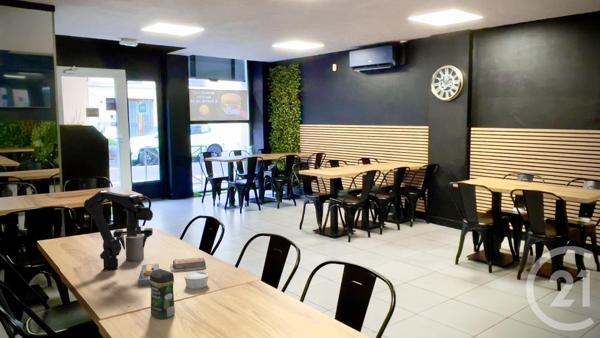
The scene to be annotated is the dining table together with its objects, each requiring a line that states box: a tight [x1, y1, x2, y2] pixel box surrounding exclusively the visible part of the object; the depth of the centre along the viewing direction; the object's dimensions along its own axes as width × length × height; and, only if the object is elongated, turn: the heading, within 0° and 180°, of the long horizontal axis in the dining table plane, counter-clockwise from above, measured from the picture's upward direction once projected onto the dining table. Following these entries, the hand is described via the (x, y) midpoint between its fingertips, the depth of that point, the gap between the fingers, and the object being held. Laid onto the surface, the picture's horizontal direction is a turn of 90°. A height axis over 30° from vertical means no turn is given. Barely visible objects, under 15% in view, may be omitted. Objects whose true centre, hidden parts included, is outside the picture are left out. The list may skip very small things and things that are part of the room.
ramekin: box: [183, 271, 209, 290], centre depth 221 cm, size 11×11×5 cm
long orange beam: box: [145, 264, 152, 275], centre depth 232 cm, size 2×10×5 cm, turn 13°
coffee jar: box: [150, 268, 176, 320], centre depth 187 cm, size 10×8×19 cm
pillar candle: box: [125, 234, 145, 263], centre depth 261 cm, size 10×10×15 cm
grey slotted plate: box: [137, 263, 160, 287], centre depth 232 cm, size 24×8×3 cm, turn 13°
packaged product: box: [170, 257, 207, 273], centre depth 248 cm, size 18×5×10 cm
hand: (133, 249), depth 240 cm, fingers open, 9 cm apart
